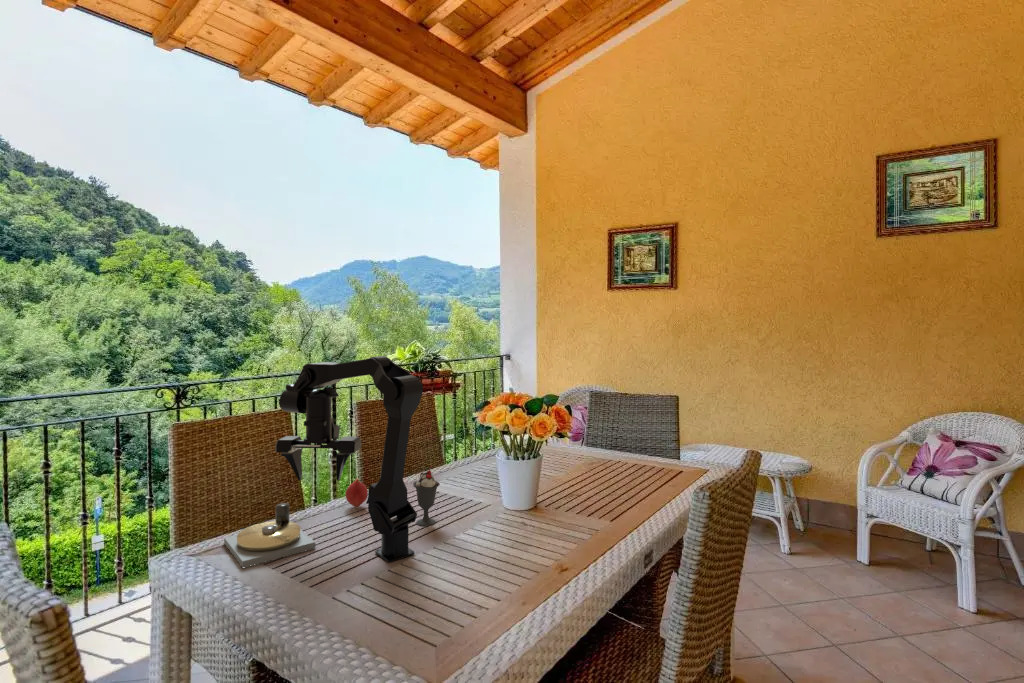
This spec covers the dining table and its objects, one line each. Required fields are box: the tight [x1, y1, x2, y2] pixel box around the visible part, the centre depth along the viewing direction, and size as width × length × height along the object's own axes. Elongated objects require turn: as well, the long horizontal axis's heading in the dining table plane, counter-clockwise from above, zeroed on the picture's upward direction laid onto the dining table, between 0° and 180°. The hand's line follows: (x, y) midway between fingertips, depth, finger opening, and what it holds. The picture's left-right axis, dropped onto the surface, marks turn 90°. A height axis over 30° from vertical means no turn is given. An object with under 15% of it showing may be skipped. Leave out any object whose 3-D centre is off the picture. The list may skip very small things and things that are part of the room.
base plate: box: [223, 528, 316, 568], centre depth 120 cm, size 15×15×2 cm
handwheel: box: [236, 502, 301, 551], centre depth 120 cm, size 13×13×6 cm
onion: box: [345, 478, 368, 508], centre depth 145 cm, size 6×6×8 cm
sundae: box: [412, 465, 440, 527], centre depth 135 cm, size 7×7×15 cm
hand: (319, 480), depth 127 cm, fingers open, 9 cm apart
